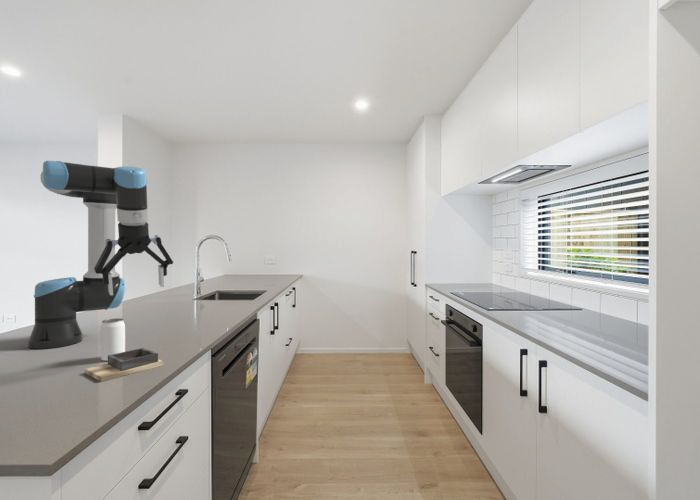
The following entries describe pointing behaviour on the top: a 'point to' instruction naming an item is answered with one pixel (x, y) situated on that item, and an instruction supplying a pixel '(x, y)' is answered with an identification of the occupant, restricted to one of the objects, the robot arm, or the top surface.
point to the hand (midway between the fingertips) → (137, 289)
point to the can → (112, 337)
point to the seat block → (125, 364)
